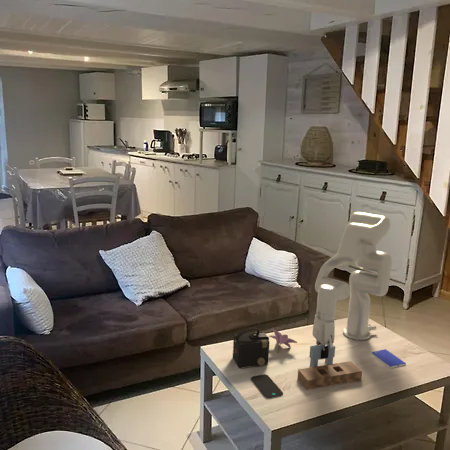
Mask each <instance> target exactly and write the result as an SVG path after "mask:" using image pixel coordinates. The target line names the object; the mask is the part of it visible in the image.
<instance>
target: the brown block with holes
mask: <svg viewBox="0 0 450 450" xmlns="http://www.w3.org/2000/svg"><path fill="white" fill-rule="evenodd" d="M362 378H363V370H362V369H361V368H359V366H357V365H356V364H355V363H354V362H352V360H348V361H342V362H337V363H336V362H335V363H333V364H329V365H326V364H324V365H318V366H317V367H311V366H310V367H305V368H299V369H297V380H298V381H299V382H300V383H301V385H302V386H303V387H304V389H306V390H312V389H313V390H314V389H319V388H324V387H331V386H336V385H337V386H338V385H341V384H342V385H343V384H348V383H354V382H358V381H362Z"/></svg>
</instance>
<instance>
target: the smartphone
mask: <svg viewBox="0 0 450 450" xmlns="http://www.w3.org/2000/svg"><path fill="white" fill-rule="evenodd" d="M250 380H251V382H252V384H253V385H254V386H255V387H256V388H257V390H258V391H259V392H260V394H261V395H262V396H263V398H265V399H267V400H270V399H275V398H280V397H283V396H284V392H283V390H281V388H279V386H278V385H277V384H276V383H275V382H274V381H273V379H272V378H271V377H270V376H269V375H268V374H267V373H266V374H265V373H264V374H259V375H253V376H251V377H250Z"/></svg>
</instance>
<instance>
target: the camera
mask: <svg viewBox="0 0 450 450" xmlns="http://www.w3.org/2000/svg"><path fill="white" fill-rule="evenodd" d="M251 331H252V332H251ZM232 339H233V346H232V359H233V360H234V362H235V364H236V365H237V367H238V369H242V368H251V367H258V366H265V365H268V364H269V357H270V355H269V354H270V337H269V336H268V335H267V334H266V332H265V331H260V330H259V329H258V328H257V327H255V326H251V327H247V328H244V329H243V330H241V331H240V332H239V333H234V334H233V338H232Z"/></svg>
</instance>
